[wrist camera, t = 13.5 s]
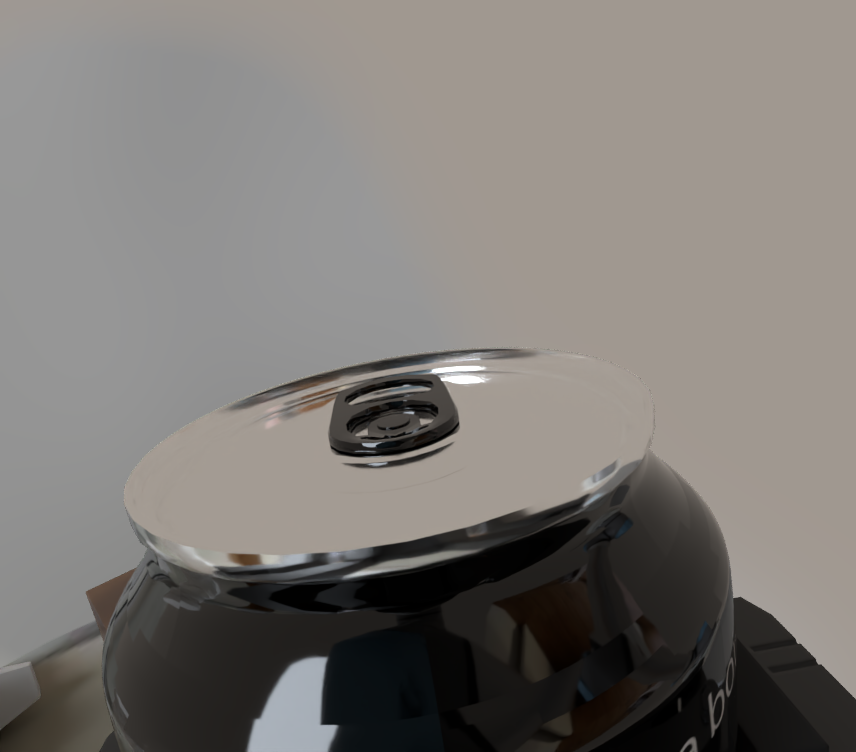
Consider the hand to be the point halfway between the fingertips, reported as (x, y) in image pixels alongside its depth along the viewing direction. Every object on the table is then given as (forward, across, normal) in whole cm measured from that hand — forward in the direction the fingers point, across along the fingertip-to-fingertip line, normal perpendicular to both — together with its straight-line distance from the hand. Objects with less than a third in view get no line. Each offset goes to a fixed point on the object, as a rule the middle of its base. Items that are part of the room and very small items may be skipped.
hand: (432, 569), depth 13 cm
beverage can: (-5, 0, -7) cm, 8 cm away
